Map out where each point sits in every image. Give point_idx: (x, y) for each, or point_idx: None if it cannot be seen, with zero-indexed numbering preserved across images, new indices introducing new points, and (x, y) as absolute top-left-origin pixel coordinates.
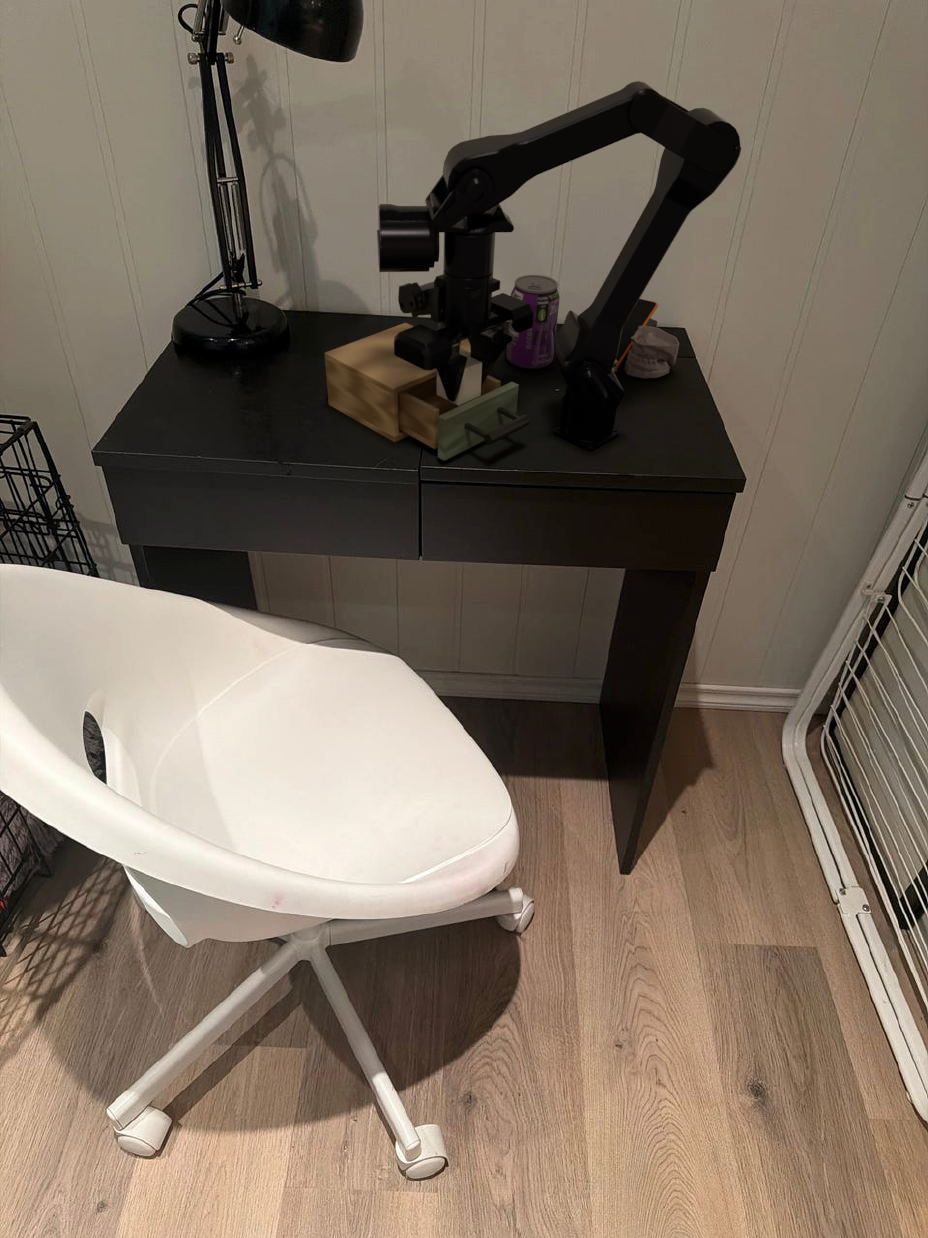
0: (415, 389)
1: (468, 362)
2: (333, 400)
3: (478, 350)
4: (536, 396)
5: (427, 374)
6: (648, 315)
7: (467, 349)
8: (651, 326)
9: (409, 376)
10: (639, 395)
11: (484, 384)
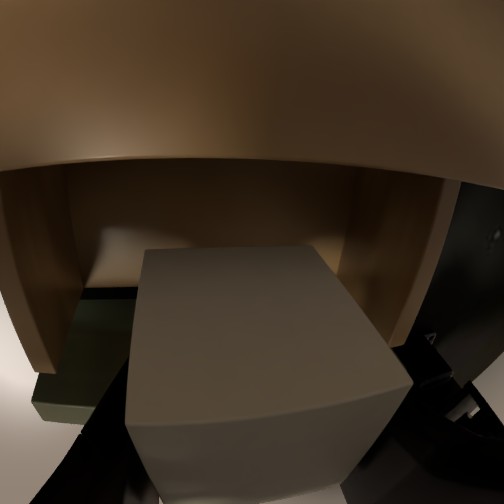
0: None
1: (297, 482)
2: None
3: (392, 495)
4: (472, 223)
5: (171, 157)
6: None
7: None
8: None
9: (42, 97)
10: (500, 319)
11: (390, 280)
